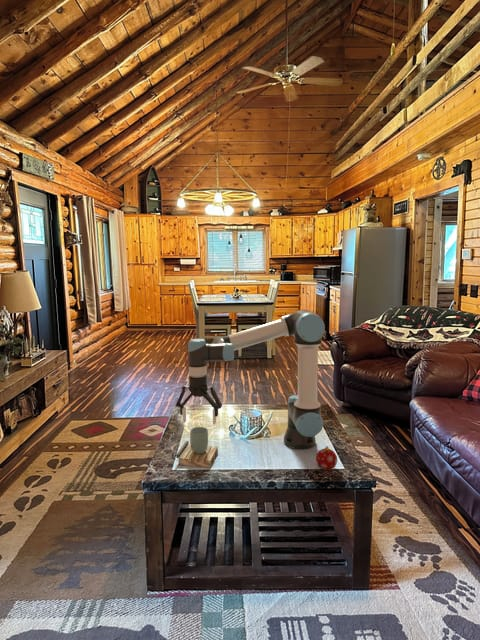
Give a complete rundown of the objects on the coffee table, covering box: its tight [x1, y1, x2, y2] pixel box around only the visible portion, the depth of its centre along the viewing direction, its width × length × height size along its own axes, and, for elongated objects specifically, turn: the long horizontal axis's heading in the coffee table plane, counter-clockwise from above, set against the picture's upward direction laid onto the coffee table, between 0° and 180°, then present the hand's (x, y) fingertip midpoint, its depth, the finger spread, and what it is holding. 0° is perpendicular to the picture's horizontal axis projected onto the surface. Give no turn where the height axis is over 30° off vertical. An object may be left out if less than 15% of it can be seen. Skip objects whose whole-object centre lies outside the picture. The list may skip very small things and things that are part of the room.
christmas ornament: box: [315, 445, 338, 471], centre depth 171 cm, size 9×9×10 cm
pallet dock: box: [175, 440, 219, 468], centre depth 180 cm, size 15×14×4 cm
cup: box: [189, 426, 209, 454], centre depth 180 cm, size 8×8×10 cm
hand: (199, 422), depth 178 cm, fingers open, 13 cm apart
